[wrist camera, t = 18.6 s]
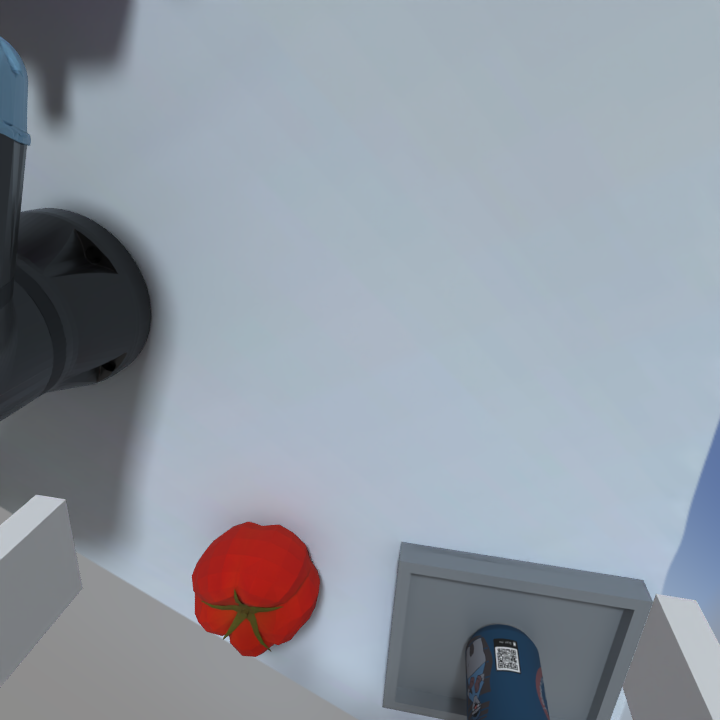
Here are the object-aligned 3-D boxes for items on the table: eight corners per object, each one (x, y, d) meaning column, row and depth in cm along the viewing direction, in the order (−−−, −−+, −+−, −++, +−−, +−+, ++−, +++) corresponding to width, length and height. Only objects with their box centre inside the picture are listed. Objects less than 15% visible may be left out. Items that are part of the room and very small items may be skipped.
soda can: (533, 673, 53) (554, 810, 42) (463, 664, 54) (466, 795, 43) (540, 621, 51) (565, 753, 40) (466, 613, 52) (470, 740, 41)
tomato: (209, 503, 53) (164, 569, 45) (327, 515, 51) (303, 587, 43) (219, 585, 57) (180, 660, 49) (329, 599, 55) (308, 679, 47)
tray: (385, 685, 59) (382, 707, 56) (401, 541, 51) (399, 560, 49) (592, 725, 56) (598, 750, 54) (643, 580, 48) (652, 602, 46)
